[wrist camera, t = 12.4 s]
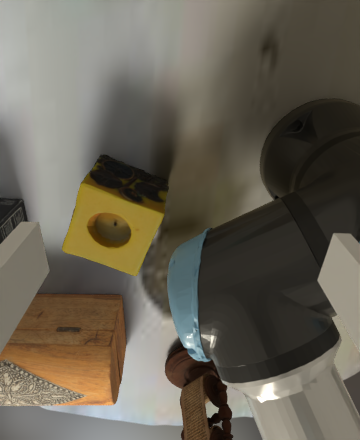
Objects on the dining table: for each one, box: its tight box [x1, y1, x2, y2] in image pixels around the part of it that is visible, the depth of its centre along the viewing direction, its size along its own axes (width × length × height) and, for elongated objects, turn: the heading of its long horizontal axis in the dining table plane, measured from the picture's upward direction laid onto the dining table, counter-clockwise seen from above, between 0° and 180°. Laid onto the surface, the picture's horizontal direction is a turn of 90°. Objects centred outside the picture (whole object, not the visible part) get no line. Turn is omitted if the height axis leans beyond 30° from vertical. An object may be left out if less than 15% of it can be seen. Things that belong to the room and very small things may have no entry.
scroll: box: [165, 346, 233, 440], centre depth 54 cm, size 15×15×20 cm
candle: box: [62, 155, 169, 276], centre depth 39 cm, size 10×10×10 cm
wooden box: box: [0, 294, 126, 406], centre depth 51 cm, size 30×16×14 cm, turn 88°
